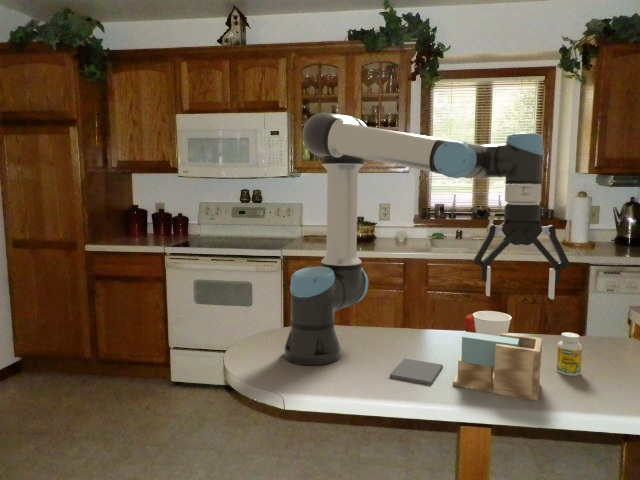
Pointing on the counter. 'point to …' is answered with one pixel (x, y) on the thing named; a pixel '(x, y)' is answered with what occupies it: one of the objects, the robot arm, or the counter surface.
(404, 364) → the mat
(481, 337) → the bar
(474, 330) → the apple
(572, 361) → the supplement bottle
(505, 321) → the cup
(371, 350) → the counter surface
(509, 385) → the cradle
